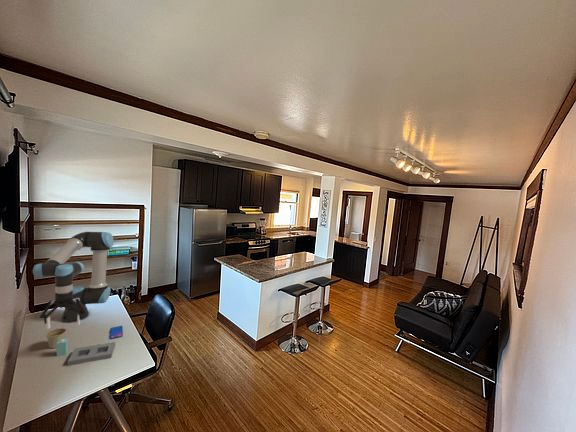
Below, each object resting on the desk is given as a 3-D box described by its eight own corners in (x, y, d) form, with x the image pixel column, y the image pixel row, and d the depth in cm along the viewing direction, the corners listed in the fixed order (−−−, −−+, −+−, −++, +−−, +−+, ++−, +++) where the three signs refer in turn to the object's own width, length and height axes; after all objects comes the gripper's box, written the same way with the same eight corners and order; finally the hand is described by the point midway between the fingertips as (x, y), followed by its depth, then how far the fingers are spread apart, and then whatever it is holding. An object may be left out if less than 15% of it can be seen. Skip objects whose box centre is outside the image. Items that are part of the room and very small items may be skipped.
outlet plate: (75, 352, 146) (75, 348, 146) (115, 345, 155) (115, 341, 155) (67, 365, 135) (67, 361, 135) (111, 357, 144) (111, 353, 144)
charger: (59, 352, 145) (59, 338, 144) (68, 350, 147) (68, 337, 146) (56, 356, 142) (56, 342, 141) (65, 354, 143) (65, 341, 142)
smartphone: (122, 325, 176) (122, 336, 164) (122, 326, 176) (122, 337, 164) (110, 327, 172) (109, 338, 160) (110, 329, 172) (109, 340, 160)
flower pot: (60, 339, 156) (60, 326, 155) (70, 343, 153) (70, 330, 153) (41, 347, 147) (41, 334, 147) (51, 352, 145) (51, 338, 144)
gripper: (31, 296, 132) (31, 333, 134) (89, 291, 143) (89, 326, 145) (37, 291, 138) (38, 326, 140) (92, 287, 150) (92, 319, 152)
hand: (64, 326), depth 143 cm, fingers open, 13 cm apart
